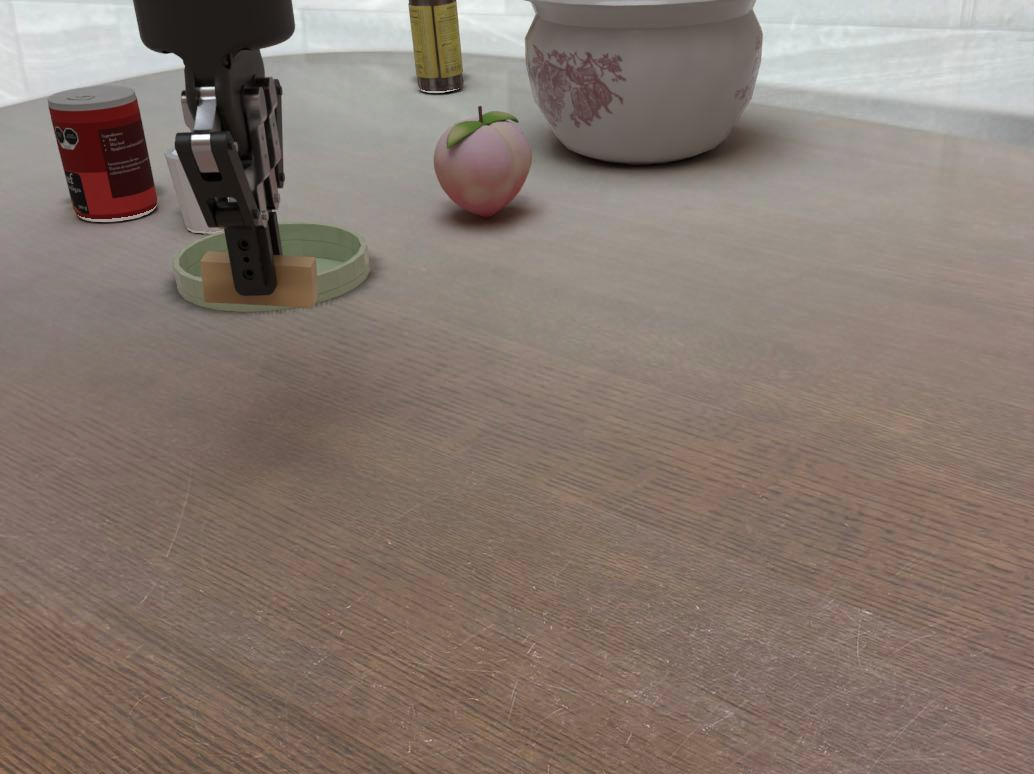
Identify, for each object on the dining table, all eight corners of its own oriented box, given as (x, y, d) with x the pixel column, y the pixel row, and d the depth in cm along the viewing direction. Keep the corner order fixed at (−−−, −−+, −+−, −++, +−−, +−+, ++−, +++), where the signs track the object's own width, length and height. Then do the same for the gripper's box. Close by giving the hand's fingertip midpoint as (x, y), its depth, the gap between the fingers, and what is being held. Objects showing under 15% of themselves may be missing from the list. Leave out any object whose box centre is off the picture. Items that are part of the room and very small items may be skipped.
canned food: (83, 203, 120) (56, 87, 114) (165, 197, 121) (142, 83, 115) (66, 226, 113) (36, 106, 108) (152, 221, 114) (127, 100, 108)
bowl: (158, 331, 90) (148, 287, 88) (208, 264, 103) (200, 224, 101) (356, 327, 90) (351, 282, 88) (382, 259, 103) (378, 219, 101)
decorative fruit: (473, 198, 117) (466, 91, 111) (546, 208, 113) (543, 98, 108) (418, 226, 110) (408, 113, 105) (494, 238, 106) (487, 121, 101)
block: (204, 302, 66) (199, 260, 65) (211, 292, 67) (207, 250, 66) (313, 308, 66) (311, 266, 65) (318, 297, 68) (316, 256, 66)
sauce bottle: (464, 83, 162) (454, -82, 151) (463, 94, 157) (452, -77, 146) (417, 85, 162) (403, -80, 151) (414, 96, 157) (399, -75, 146)
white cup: (265, 226, 112) (253, 149, 108) (194, 241, 108) (179, 163, 105) (237, 209, 116) (224, 135, 113) (168, 223, 113) (153, 147, 110)
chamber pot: (744, 192, 115) (757, -47, 104) (478, 176, 123) (464, -47, 112) (789, 123, 138) (804, -80, 127) (561, 113, 146) (557, -78, 135)
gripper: (165, -75, 63) (223, 248, 72) (75, -42, 51) (159, 336, 61) (307, -80, 63) (347, 244, 72) (249, -49, 51) (306, 332, 60)
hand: (261, 285), depth 66 cm, fingers closed on block, 1 cm apart
